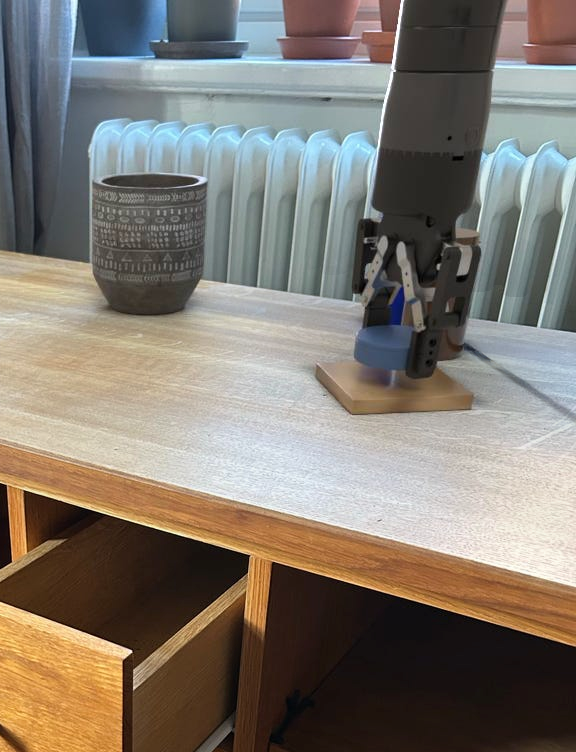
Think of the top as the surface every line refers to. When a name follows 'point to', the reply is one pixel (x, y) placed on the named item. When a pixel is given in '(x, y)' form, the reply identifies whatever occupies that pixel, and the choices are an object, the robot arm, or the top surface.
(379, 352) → the jar lid
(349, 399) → the plate
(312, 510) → the top surface
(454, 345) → the jar
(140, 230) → the planter
